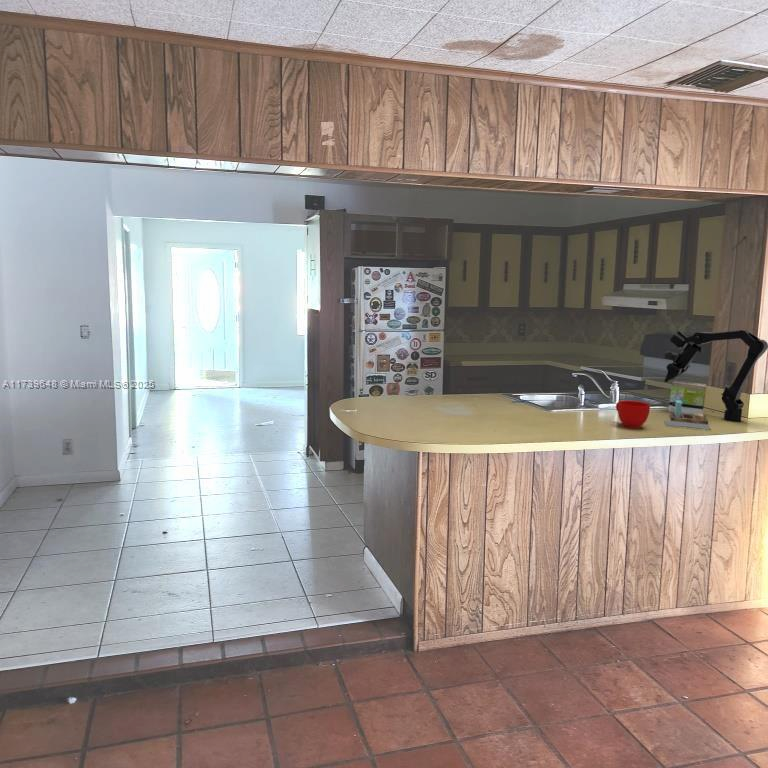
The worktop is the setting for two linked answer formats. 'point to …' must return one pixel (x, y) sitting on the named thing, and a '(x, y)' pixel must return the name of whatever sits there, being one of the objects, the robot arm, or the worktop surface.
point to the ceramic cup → (632, 413)
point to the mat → (687, 425)
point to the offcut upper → (698, 416)
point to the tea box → (688, 397)
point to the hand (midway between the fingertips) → (668, 380)
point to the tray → (688, 419)
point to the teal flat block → (678, 409)
